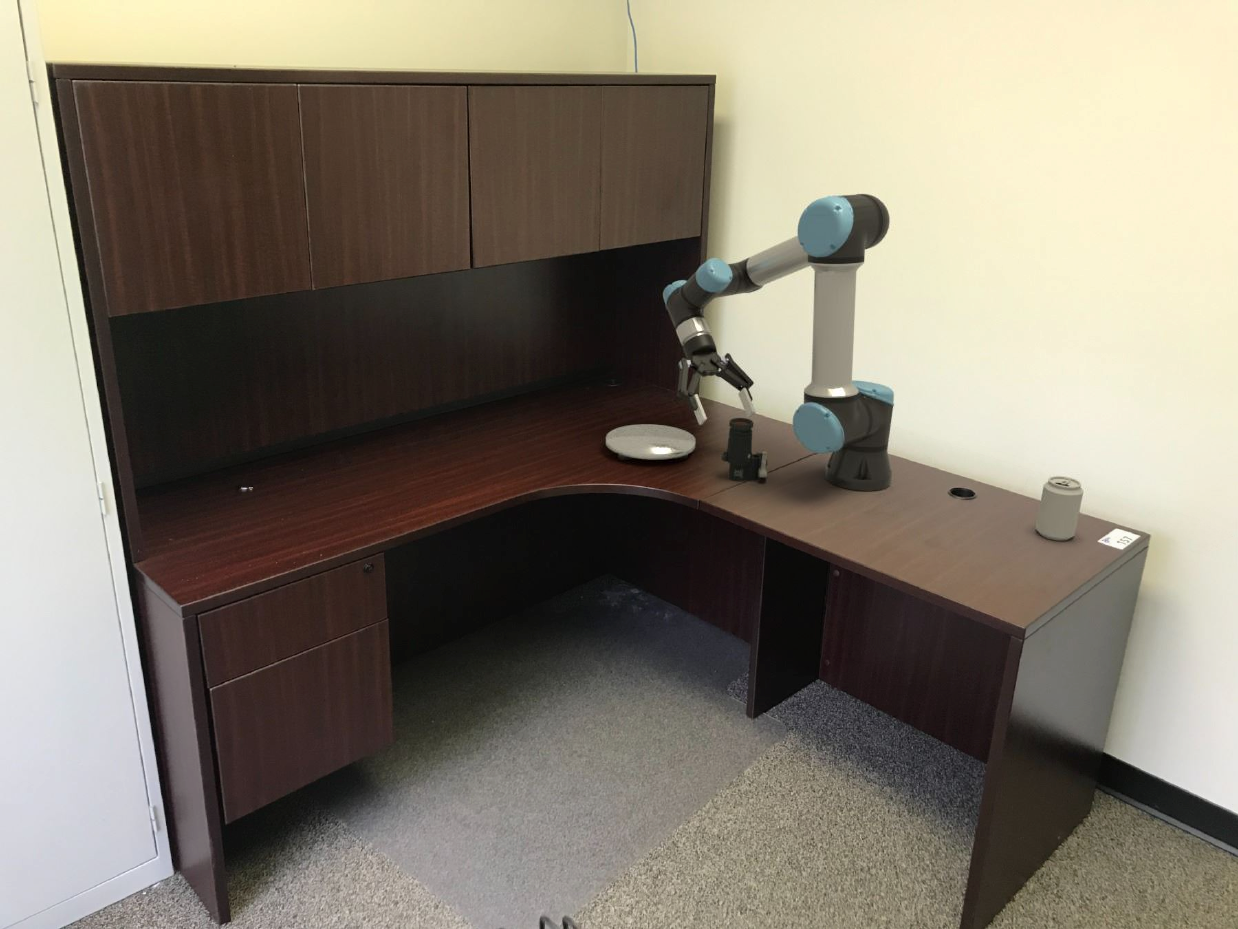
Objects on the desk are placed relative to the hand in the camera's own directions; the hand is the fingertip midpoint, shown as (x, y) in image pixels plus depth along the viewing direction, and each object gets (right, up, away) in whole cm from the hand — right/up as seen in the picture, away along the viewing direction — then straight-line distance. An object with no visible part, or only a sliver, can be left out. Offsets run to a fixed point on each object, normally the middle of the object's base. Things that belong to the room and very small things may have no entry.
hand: (727, 418), depth 236 cm
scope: (+3, -14, -1) cm, 15 cm away
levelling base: (-18, -8, +14) cm, 24 cm away
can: (+65, -25, -27) cm, 74 cm away
